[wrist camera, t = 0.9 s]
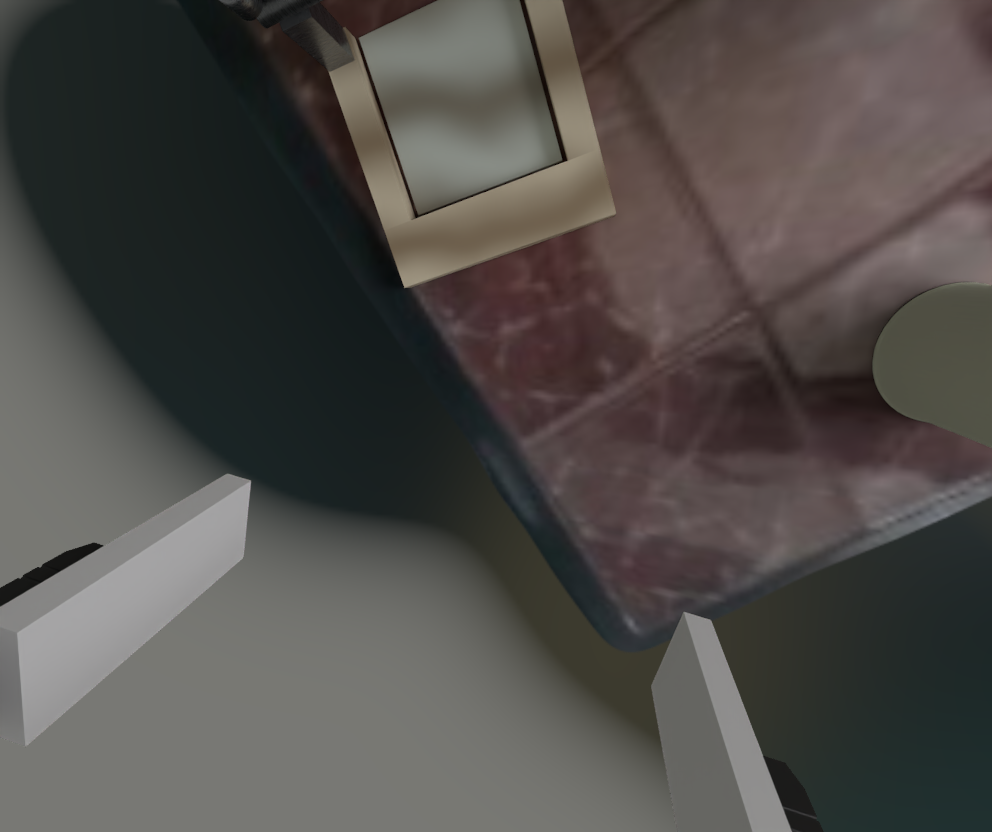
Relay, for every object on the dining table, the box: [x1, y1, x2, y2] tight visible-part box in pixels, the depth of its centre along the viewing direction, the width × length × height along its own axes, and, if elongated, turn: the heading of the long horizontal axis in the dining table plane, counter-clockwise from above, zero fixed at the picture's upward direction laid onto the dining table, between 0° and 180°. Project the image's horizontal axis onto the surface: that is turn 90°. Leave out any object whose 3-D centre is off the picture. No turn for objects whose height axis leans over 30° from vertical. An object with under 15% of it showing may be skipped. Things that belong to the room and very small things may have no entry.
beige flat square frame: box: [328, 0, 616, 288], centre depth 33 cm, size 16×15×2 cm
